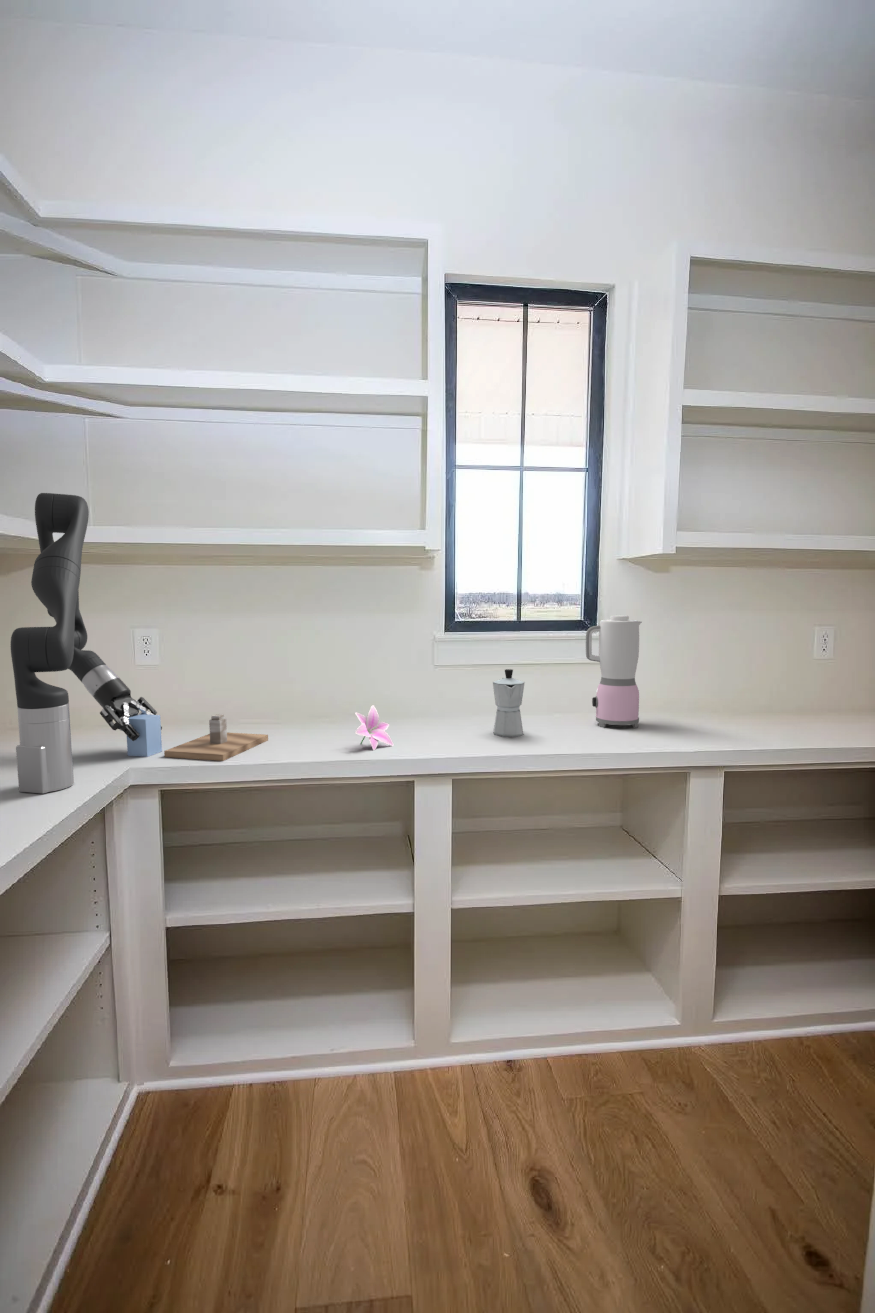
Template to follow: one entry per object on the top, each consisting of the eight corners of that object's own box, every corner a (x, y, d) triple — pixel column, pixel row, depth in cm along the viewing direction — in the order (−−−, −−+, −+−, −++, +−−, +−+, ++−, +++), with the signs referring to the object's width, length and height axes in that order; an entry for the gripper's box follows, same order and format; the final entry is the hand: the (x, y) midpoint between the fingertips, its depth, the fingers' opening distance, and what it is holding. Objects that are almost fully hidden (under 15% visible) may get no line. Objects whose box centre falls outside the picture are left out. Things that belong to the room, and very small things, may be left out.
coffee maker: (527, 738, 185) (527, 672, 183) (494, 738, 185) (494, 672, 183) (520, 726, 200) (520, 665, 198) (490, 727, 199) (490, 665, 197)
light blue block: (147, 756, 167) (145, 719, 166) (127, 755, 168) (125, 718, 167) (162, 751, 172) (160, 715, 171) (142, 750, 174) (140, 714, 173)
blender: (634, 721, 207) (637, 614, 203) (643, 729, 195) (646, 616, 191) (581, 720, 208) (583, 614, 205) (586, 729, 196) (588, 616, 193)
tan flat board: (223, 761, 163) (221, 725, 162) (164, 757, 167) (162, 722, 166) (268, 740, 184) (267, 708, 183) (215, 737, 188) (213, 706, 187)
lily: (347, 756, 171) (363, 725, 168) (337, 729, 180) (352, 699, 177) (389, 765, 177) (405, 735, 174) (377, 738, 186) (392, 709, 183)
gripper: (93, 681, 163) (137, 730, 162) (134, 673, 177) (175, 719, 176) (76, 702, 165) (119, 751, 164) (117, 692, 179) (158, 738, 177)
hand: (148, 734), depth 170 cm, fingers open, 8 cm apart
